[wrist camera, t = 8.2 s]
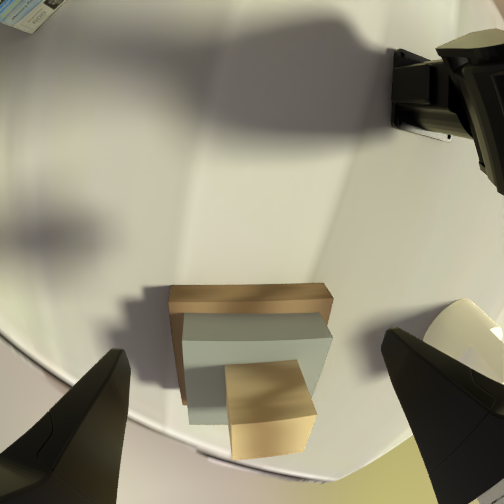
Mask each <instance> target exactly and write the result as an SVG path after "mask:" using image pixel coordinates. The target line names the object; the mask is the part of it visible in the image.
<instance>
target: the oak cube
mask: <svg viewBox="0 0 504 504" xmlns="http://www.w3.org/2000/svg"><path fill="white" fill-rule="evenodd" d="M225 387H226V409H227V418H228V427H229V435H230V444H231V452H232V460H242V459H253V458H262V457H271V456H278V455H285V454H292V453H298V452H303V451H304V449H305V446H306V444H307V441H308V439H309V436H310V433H311V431H312V428H313V425H314V422H315V420H316V417H317V413H316V410H315V407H314V404H313V402H312V399H311V396H310V393H309V391H308V388H307V385H306V383H305V380H304V377H303V374H302V372H301V369H300V366H299V363H298V361H297V359H295V360H285V361H274V362H261V363H247V364H228V365H225Z"/></svg>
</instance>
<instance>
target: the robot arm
mask: <svg viewBox="0 0 504 504" xmlns="http://www.w3.org/2000/svg"><path fill="white" fill-rule="evenodd" d="M435 49H436V51H437V53H438V55H439V56H441V58H442V59H441V60H433V61H431V60H428V59H426V58H424V57H421V56H419V55H416V54H414V53H411V52H409V51H406V50H403V49H397V50H395V51H394V69H393V84H392V116H391V124H392V126H393V127H394V128H396V129H400V130H404V131H409V132H413V133H417V134H420V135H424V136H428V137H431V138H435V139H439V140H442V141H445V142H451V141H452V139H453V135H454V136H459V137H464V138H468V139H473V140H474V142H475V146H476V149H477V153H478V157H479V166H480V169H481V170H482V171H483V172H484V173H485V174H486V175H488V178H489V180H490V181H491V182H492V183H493V184H494V185H495V186H496V187H497V191H498V192H499V193H500V194H502V195H504V31H503V30H500V29H489V30H483V31H477V32H472V33H469V34H467V35H464V36H462V37H459V38H457V39H455V40H452V41H450V42H448V43H446V44H443V45H441V46H439V47H437V48H435ZM400 53H401V55H402V57H401V56H400ZM397 120H399V124H398V125H397ZM447 134H448V138H447ZM381 352H382V355H383V358H384V361H385V364H386V367H387V370H388V373H389V376H390V379H391V382H392V385H393V388H394V390H395V392H396V395H397V397H398V399H399V401H400V404H401V406H402V408H403V411H404V413H405V416H406V418H407V420H408V423H409V425H410V428H411V430H412V433H413V435H414V438H415V440H416V443H417V445H418V448H419V450H420V453H421V456H422V458H423V461H424V463H425V466H426V469H427V471H428V474H429V477H430V480H431V483H432V486H433V489H434V492H435V495H436V498H437V501H438V504H468V503H470V502H471V501H473V500H474V499H476V498H477V499H478V501H479V503H480V504H504V385H503V384H501V383H499V382H497V381H495V380H493V379H490V378H488V377H486V376H485V375H483V374H481V373H479V372H477V371H475V370H474V369H472V368H471V369H470V367H468V366H466V365H465V364H463V363H461V362H459V361H458V360H456V359H454V358H452V357H450V356H449V355H447V354H445V353H443V352H441V351H440V350H438V349H436V348H434V347H432V346H431V345H429V344H427V343H425V342H423V341H422V340H420V339H418V338H416V337H414V336H413V335H411V334H409V333H407V332H406V331H404V330H402V329H400V328H398V327H395V328H390V329H388V330H387V331H386V333H385V336H384V339H383V342H382V345H381ZM130 375H131V368H130V364H129V362H128V359H127V356H126V353H125V351H124V350H123V349H116V348H113V349H111V350H110V351H109V352H108V353H107V354H106V355H104V356H103V357H102V358H101V359H100V360H99V361H98V362H97V363H96V364H95V365H94V366H93V367H92V368H91V369H90V370H89V371H88V372H87V373H86V374H85V375H84V376H83V377H82V378H81V379H80V380H79V381H78V382H77V383H76V384H75V385H74V386H73V387H72V388H71V389H70V390H69V391H68V392H67V393H66V394H65V395H64V396H63V397H62V398H61V399H60V400H59V401H58V402H57V403H56V404H55V405H54V406H53V407H52V408H51V409H50V410H49V412H47V413H46V414H45V415H44V416H43V417H42V418H41V419H40V420H39V421H38V422H37V423H36V424H35V425H34V426H33V427H32V428H30V429H29V430H28V431H27V432H26V433H25V434H24V435H22V436H21V437H20V438H19V439H18V440H16V441H15V442H14V443H13V444H12V445H10V446H9V447H8V448H7V449H6V450H4V451H3V452H2V453H0V504H116V499H117V488H118V478H119V470H120V462H121V455H122V447H123V440H124V434H125V427H126V422H127V415H128V406H129V389H130Z"/></svg>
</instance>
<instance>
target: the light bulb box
mask: <svg viewBox="0 0 504 504" xmlns="http://www.w3.org/2000/svg"><path fill="white" fill-rule="evenodd" d="M65 1H66V0H0V23H2V24H5V25H8V26H11V27H14V28H16V29H19V30H22V31H24V32H27V33H29V34H33V33H34V32H35V31H36V30H37V29H38V27H39V26H40V25H41V24H42V23H43V22H44V21H45V20H46V19H47V18H48V17H49V16H50V15H51V14H52V13H53V12H54V11H56V10H57V9H58V8H59V7H60V6H61V5H62V4H63V3H64V2H65Z"/></svg>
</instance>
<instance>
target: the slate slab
mask: <svg viewBox="0 0 504 504" xmlns="http://www.w3.org/2000/svg"><path fill="white" fill-rule="evenodd" d="M332 339H333V337H332V335H331V333H330V331H329V329H328V327H327V325H326V323H325V321H324V320H323V318H322V316H321V314H320V313H279V314H222V313H184V324H183V335H182V348H183V362H184V375H185V386H186V397H187V407H188V416H189V425H228V418H227V409H226V387H225V365H228V364H247V363H261V362H274V361H285V360H295V359H297V361H298V363H299V366H300V369H301V372H302V374H303V377H304V380H305V383H306V385H307V388H308V391H309V393H310V396H311V398H312V396H313V393H314V391H315V388H316V385H317V382H318V380H319V377H320V374H321V371H322V369H323V366H324V363H325V360H326V357H327V354H328V351H329V348H330V345H331V342H332Z"/></svg>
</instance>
